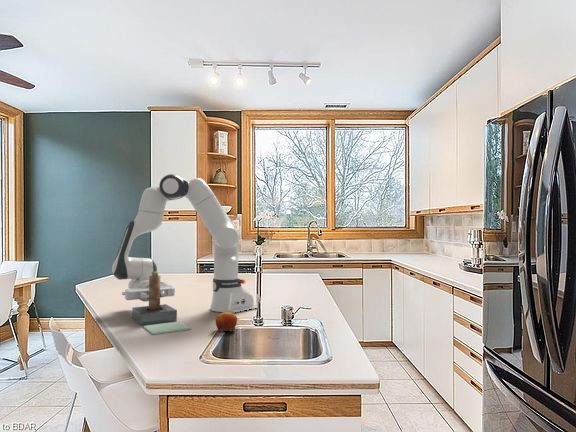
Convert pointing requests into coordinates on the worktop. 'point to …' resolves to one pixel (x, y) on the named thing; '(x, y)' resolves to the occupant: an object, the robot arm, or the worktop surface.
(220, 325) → the fruit
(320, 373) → the worktop surface
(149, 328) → the mat
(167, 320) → the housing
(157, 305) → the bottle
